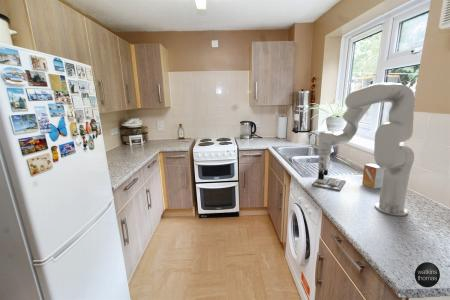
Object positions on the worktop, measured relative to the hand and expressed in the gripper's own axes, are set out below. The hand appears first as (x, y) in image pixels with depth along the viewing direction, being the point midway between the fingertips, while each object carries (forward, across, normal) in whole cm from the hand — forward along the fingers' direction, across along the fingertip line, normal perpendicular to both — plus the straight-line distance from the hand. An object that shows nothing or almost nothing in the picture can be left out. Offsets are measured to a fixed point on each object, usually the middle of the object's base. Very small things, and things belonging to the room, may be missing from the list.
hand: (322, 177), depth 138 cm
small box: (+5, +12, -26) cm, 29 cm away
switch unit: (+4, +1, -4) cm, 6 cm away
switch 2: (+3, -3, -7) cm, 8 cm away
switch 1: (+3, -3, 0) cm, 4 cm away
